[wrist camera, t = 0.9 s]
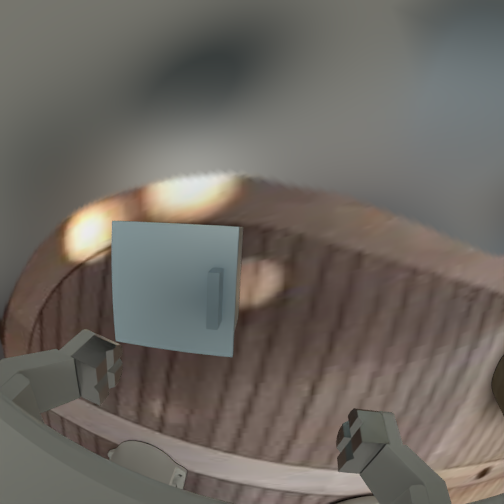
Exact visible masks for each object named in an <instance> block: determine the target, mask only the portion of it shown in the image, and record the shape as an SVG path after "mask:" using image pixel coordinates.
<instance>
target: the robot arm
mask: <svg viewBox="0 0 504 504" xmlns="http://www.w3.org/2000/svg"><path fill="white" fill-rule="evenodd" d="M122 354H123V353H122V346H121V345H120V344H118V343H116V342H113V341H111V340H109V339H107V338H105V337H102V336H100V335H98V334H95V333H93V332H91V331H89V330H87V329H85V330H82V331H81V332H80V333H79V334H77V335H76V336H75V337H74V338H73V339H72V340H71V341H69V342H68V343H67V344H66V345H65V346H64V347H63V348H61V349H60V350H57V349H53V350H48V351H43V352H38V353H33V354H28V355H22V356H17V357H11V358H5V359H2V360H1V361H0V504H234V503H230V502H226V501H222V500H218V499H214V498H210V497H206V496H203V495H199V494H196V493H192V492H189V491H186V490H183V488H184V484H185V479H186V475H187V470H186V469H185V468H183V467H182V466H180V465H178V464H176V463H175V462H174V461H173V460H172V459H171V458H170V457H169V456H168V455H166V454H165V453H164V452H162V451H161V450H159V449H157V448H156V447H153V446H151V445H149V444H146V443H142V442H138V441H126V442H123V443H121V444H120V445H119V446H118V447H117V448H116V449H112V450H110V451H109V452H108V456H109V458H110V460H108V459H105V458H103V457H101V456H99V455H97V454H95V453H94V452H92V451H90V450H88V449H86V448H84V447H82V446H80V445H79V444H77V443H75V442H73V441H72V440H70V439H68V438H66V437H65V436H63V435H61V434H60V433H58V432H57V431H55V430H53V429H52V428H50V427H49V426H47V425H46V424H44V421H43V419H42V416H41V413H43V412H45V411H48V410H50V409H53V408H55V407H58V406H60V405H63V404H65V403H68V402H70V401H73V400H75V399H78V398H80V396H81V397H83V398H85V399H87V400H89V401H91V402H93V403H96V404H98V405H100V406H101V404H102V403H103V402H104V400H105V399H106V398H107V397H108V395H109V388H112V387H115V386H116V385H117V383H118V382H119V380H120V377H121V375H122V370H123V363H122V362H121V360H120V356H121V355H122ZM348 419H349V421H347V422H345V423H343V424H342V426H341V428H340V429H339V432H338V435H337V440H336V446H337V449H338V450H339V451H340V452H341V453H340V454H339V456H338V457H337V461H338V472H347V473H358V474H360V476H361V477H362V479H363V480H364V482H365V483H366V485H367V486H368V487H369V489H370V490H371V492H372V493H373V495H374V496H375V498H376V499H377V500H378V502H379V503H380V504H451V500H450V497H449V493H448V490H447V486H446V483H445V481H444V480H443V479H442V478H441V477H440V476H439V475H437V474H436V473H435V472H434V471H433V470H432V469H431V468H430V467H429V466H428V465H427V464H426V463H425V462H424V461H423V460H421V459H420V458H419V457H418V456H417V455H416V454H415V453H414V452H413V451H412V450H411V449H410V448H409V447H408V446H407V445H403V444H402V440H401V436H400V433H399V429H398V426H397V423H396V419H395V416H394V414H393V413H392V412H383V411H372V410H363V409H355V408H354V409H353V410H352V411H351V412H350V413H349V415H348ZM467 504H504V493H503V494H499V495H496V496H493V497H490V498H486V499H482V500H479V501H475V502H471V503H467Z"/></svg>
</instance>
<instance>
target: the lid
mask: <svg viewBox="0 0 504 504" xmlns="http://www.w3.org/2000/svg"><path fill="white" fill-rule="evenodd" d="M239 233H240V227H235V226H218V225H199V224H180V223H158V222H134V221H112V292H113V311H114V326H115V337H116V341H119V342H124V343H130V344H135V345H141V346H147V347H154V348H160V349H167V350H174V351H181V352H189V353H197V354H206V355H215V356H225V357H233V350H234V328H235V307H236V288H237V269H238V250H239Z"/></svg>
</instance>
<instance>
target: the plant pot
mask: <svg viewBox="0 0 504 504" xmlns="http://www.w3.org/2000/svg"><path fill="white" fill-rule="evenodd" d="M492 390H493V393H494V396H495V398H496V400H497V402H498V405H499V407H500V409H501V411H502V413H503V415H504V356H503V357H502V359H501V360H500V362H499V364H498V366H497V368H496V370H495V373H494V376H493V380H492Z"/></svg>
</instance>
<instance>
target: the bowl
mask: <svg viewBox="0 0 504 504" xmlns="http://www.w3.org/2000/svg"><path fill="white" fill-rule="evenodd" d="M336 504H380V503H379V502H378V500H377V499H376V498H375V496H365V497H358V498H354V499H349V500H346V501H342V502H339V503H336Z"/></svg>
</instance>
